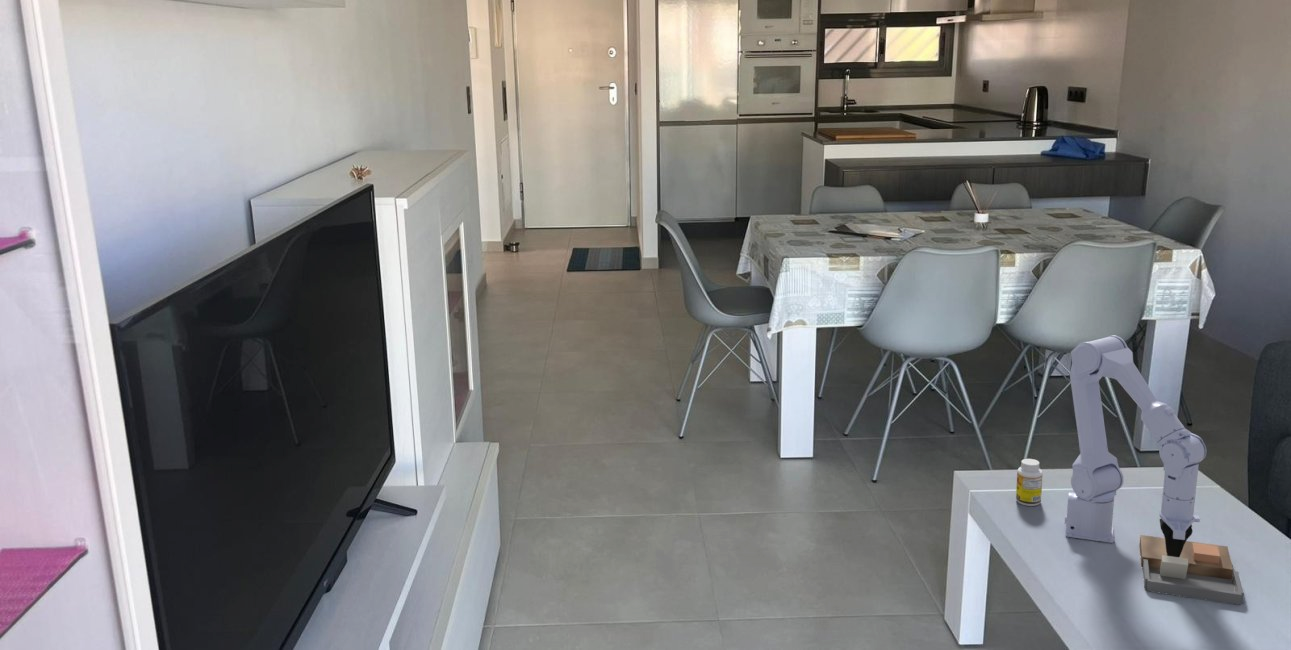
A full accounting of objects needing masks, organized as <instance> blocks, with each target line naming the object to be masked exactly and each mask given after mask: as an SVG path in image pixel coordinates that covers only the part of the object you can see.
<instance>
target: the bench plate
mask: <svg viewBox="0 0 1291 650" xmlns="http://www.w3.org/2000/svg"><path fill="white" fill-rule="evenodd" d="M1192 543H1199V544H1206V545H1214V546H1218V550H1219V554H1220V561H1219V563H1211V562H1204V561H1197V560H1193V555H1192ZM1138 546H1139V555H1140V556H1141V558H1140V565H1141V567H1143V559H1147V560H1148V567H1149V568H1154V569H1160V565H1161V559H1162V555H1165V556H1167V552H1166V544H1165V537H1159V536H1153V535H1152V536H1150V535H1146V534H1140V535H1139V544H1138ZM1179 558H1187V559H1188V569H1187V573H1188V574H1195V575H1202V576H1209V577H1216V578H1223V579H1230V580H1232V579H1233V572H1234V567H1233V564H1232V559H1231V556H1230V552H1229V548H1228V546H1225V545H1221V544H1220V545H1219V544H1211V543H1205V542H1199V541H1196V542H1195V541H1188V540H1186V542H1185V544H1184V546H1183V549H1182V552H1181V555H1180V557H1179Z"/></svg>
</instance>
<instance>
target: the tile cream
mask: <svg viewBox="0 0 1291 650" xmlns="http://www.w3.org/2000/svg"><path fill="white" fill-rule="evenodd" d="M1187 569H1188V559H1187V558H1179V557H1172V556H1165V555H1162V559H1161V565H1160V576H1167V577H1174V578H1180V579H1186V574H1187Z"/></svg>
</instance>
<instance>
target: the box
mask: <svg viewBox="0 0 1291 650" xmlns="http://www.w3.org/2000/svg"><path fill="white" fill-rule="evenodd" d="M1142 579H1144V580H1143V588H1147V589H1146V592H1150V591H1153V592H1152V593H1157V592H1160V593H1159V594H1163V593H1167V594H1166V595H1170V594H1174V595H1173V596H1176V595H1178V596H1177V597H1183V596H1185V597H1184V598H1189V597H1191V599H1196V598H1197V600H1203V601H1204V600H1205V601H1209V602H1210V601H1211V602H1215V601H1216V603H1217V602H1218V603H1223V604H1230V605H1236V606H1242V605H1241V604H1243V602H1244V601H1243V600H1244V589H1243V586H1242V582H1241V578H1240V575H1239V572H1237V571H1233V577H1232V580H1230V579H1223V578H1216V577H1209V576H1202V575H1195V574H1188V573H1187V574H1186V579H1180V578H1174V577H1167V576H1160V569H1154V568H1149V567H1148V560H1147V559H1143V568H1142ZM1179 595H1180V596H1179Z"/></svg>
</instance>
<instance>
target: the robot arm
mask: <svg viewBox="0 0 1291 650" xmlns="http://www.w3.org/2000/svg"><path fill="white" fill-rule="evenodd" d="M1133 354H1134V353H1133V350H1131V349H1130V348H1129V347H1128V345H1127V342H1125V340H1124V339H1123V338H1122V337H1121V336H1119V335H1115V334H1114V335H1113V334H1112V335H1108V336H1106V337H1103V338H1099V339H1094V340H1091V341H1083V342H1079V343H1078V344H1077V346H1075V347H1074V348H1073V350H1071V351H1070V358H1071V366H1070V367H1071V368H1070V370H1069V379H1070V386H1071V393H1072V402H1073V408H1074V410H1073V411H1074V416H1075V423H1076V424H1075V426H1076V429H1077V437H1078V444H1079V445H1078V447H1079V452H1080V453H1079V455H1078V456H1077V458H1076V459H1075V460H1074V462H1073V463H1072V465H1071V466H1072V475H1071V477H1070V483H1071V484H1070V485H1071V488H1072V490H1073V491H1069V492H1068V493H1067V509H1066V515H1064V525H1066V526H1065V537H1067V538H1072V539H1081V540H1089V541H1095V542H1103V543H1110V544H1113V543H1114V540H1115V539H1114V538H1115V537H1114V525H1113V521H1114V519H1113V518H1114V505H1115V496H1117V491H1118V490H1120V489H1121V488H1122V486H1123V485H1124V474H1123V472H1122V470H1121V469H1120V466H1119V462H1118V458H1117V457H1116V456H1114V455H1113V454H1112V453H1110V452H1109V449H1108V441H1107V440H1108V439H1107V433H1106V426H1105V421H1104V420H1105V418H1104V412H1103V410H1104V409H1103V404H1102V403H1103V402H1102V396H1101V389H1100V380H1101V379H1102V378H1103V377H1105V378H1108V379H1109V378H1110V379H1114V380H1116V381H1117V383H1119V384H1120V385H1121V387H1122V388H1123V389H1124V391H1125V392H1126V393H1127V394H1128V395H1129V397H1131V399H1132V400H1133V401H1134V402H1135V403H1136V405H1137V406H1138V408H1140V410H1141V415H1140V419H1141V421H1142V423H1143V424H1144V425H1145V427H1146V428H1147V430H1148V431H1149V433H1150V434H1151V435H1152V437H1153V438H1154V439H1155V441H1156V443H1157V444H1158V445H1159V447H1160V448H1161V449H1159V452H1158V453H1159V457H1160V460H1161V461H1162V464H1163V472H1164V474H1163V475H1164V476H1163V485H1162V486H1163V487H1162V495H1161V498H1162V499H1161V507H1160V508H1161V509H1160V511H1159V518H1160V519H1159V524H1160V525H1159V526H1160V530H1161V532H1162V534H1163V538H1165V544H1166V552H1167V556H1172V557H1180V555H1181V552H1182V549H1183V546H1184V544H1185V542H1186V541H1188V539H1189V538H1190V537H1191V536H1192V534H1193V533H1194V532H1193V531H1194V530H1193V523H1200V522H1201V518H1200V515H1199V514H1195V513H1194V512H1195V503H1196V495H1197V486H1198V485H1197V483H1198V476H1199V475H1198V474H1199V465H1200V464H1199V463H1200V462H1202V461H1203V460H1204V459H1205V458H1206V456H1207V452H1208V451H1207V446H1206V443H1205V442H1204V440H1203V439H1202V437H1200V436H1199V435H1197V434H1195V433H1192V432H1191V431H1190V430H1188V429H1187V428H1186V427H1185V426H1184V424H1182V422H1181V421H1180V419H1179V417H1178V416H1177V415H1176V414H1175V413H1176V411H1175V410H1174V408H1172V407H1170V406H1169V404H1168V403H1165V402H1161V401H1159V400H1157V398H1156V396H1155V395H1154V393H1153V391H1152V390H1151V388H1150V386H1149V385H1148V383H1147V382H1146V380H1145V379H1144V377H1143V374H1141V372H1140V370H1139V369H1138V367H1137V366H1136V365H1135V363H1134V355H1133Z"/></svg>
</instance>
